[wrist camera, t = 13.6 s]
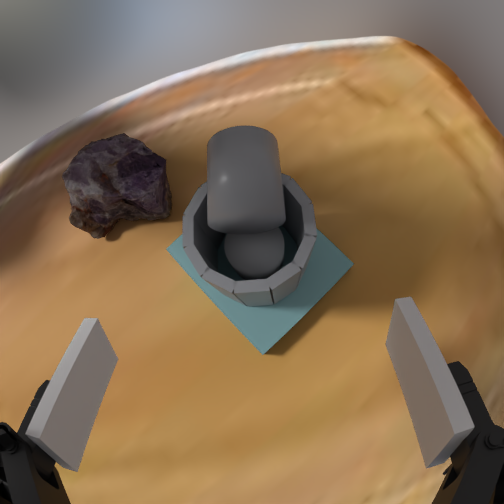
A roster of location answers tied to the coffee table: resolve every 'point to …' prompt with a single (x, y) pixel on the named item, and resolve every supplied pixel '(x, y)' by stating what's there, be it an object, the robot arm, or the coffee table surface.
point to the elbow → (247, 212)
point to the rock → (116, 184)
